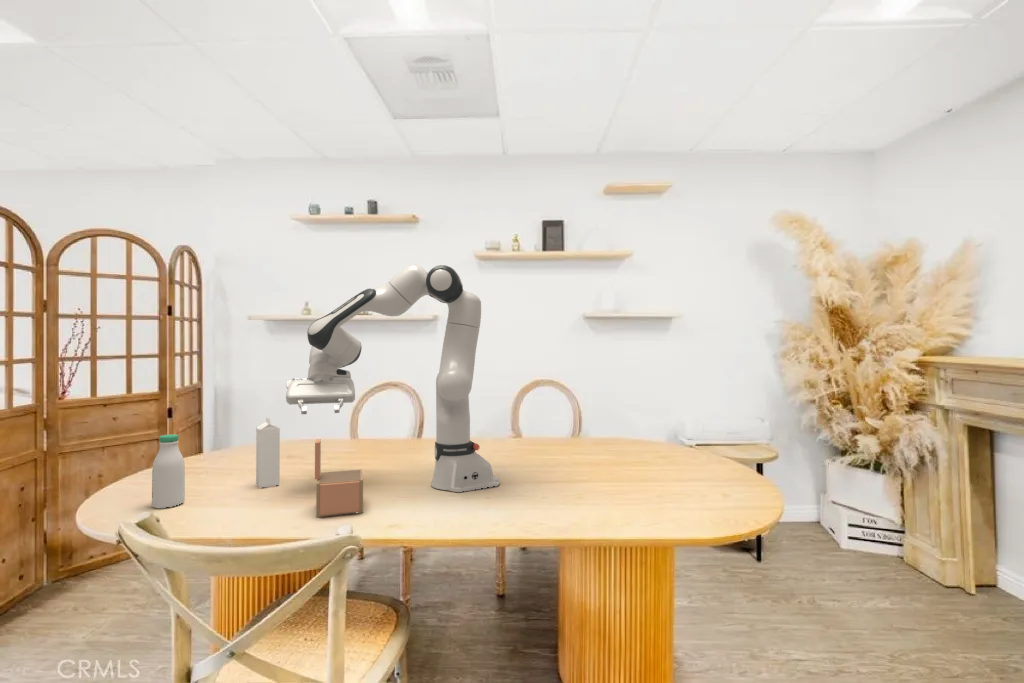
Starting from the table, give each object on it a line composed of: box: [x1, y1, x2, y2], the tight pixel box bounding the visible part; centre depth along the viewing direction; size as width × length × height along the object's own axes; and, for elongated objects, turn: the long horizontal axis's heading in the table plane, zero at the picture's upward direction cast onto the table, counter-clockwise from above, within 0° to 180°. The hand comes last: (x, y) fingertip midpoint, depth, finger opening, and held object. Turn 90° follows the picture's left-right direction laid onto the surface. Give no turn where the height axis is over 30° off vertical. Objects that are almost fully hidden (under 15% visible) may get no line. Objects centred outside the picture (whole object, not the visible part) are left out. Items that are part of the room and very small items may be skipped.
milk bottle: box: [151, 433, 186, 509], centre depth 142 cm, size 8×8×20 cm
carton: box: [315, 468, 364, 518], centre depth 139 cm, size 12×13×9 cm
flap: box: [314, 438, 322, 480], centre depth 138 cm, size 1×5×10 cm, turn 18°
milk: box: [255, 416, 281, 489], centre depth 162 cm, size 6×6×22 cm
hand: (320, 412), depth 150 cm, fingers open, 8 cm apart
